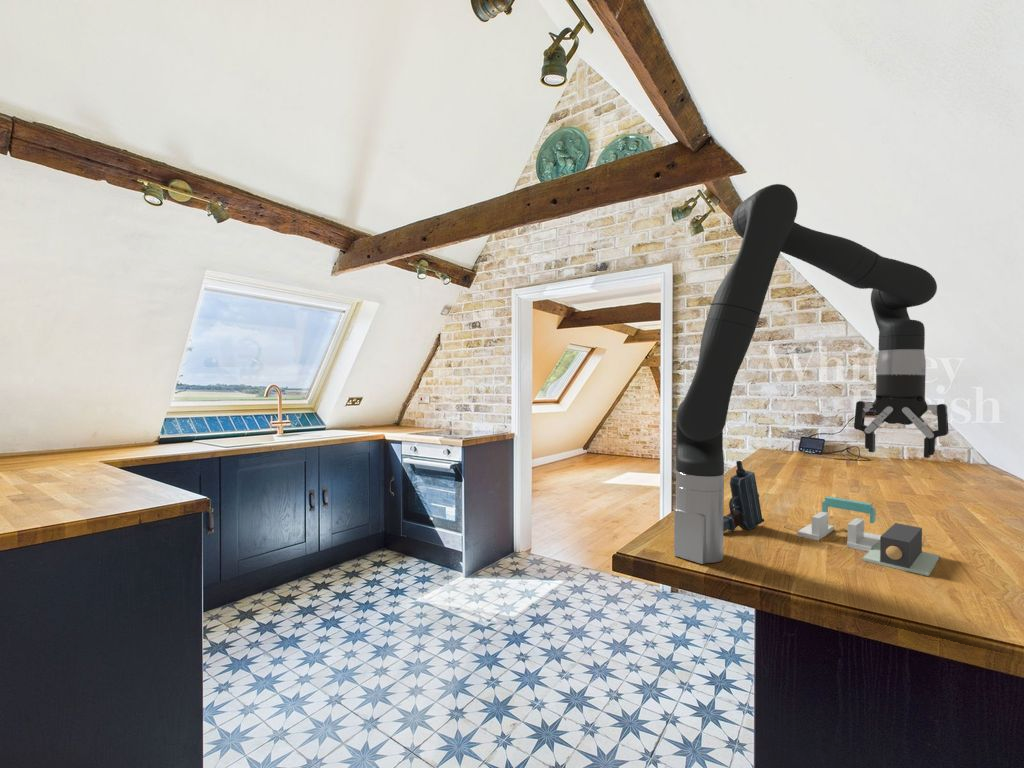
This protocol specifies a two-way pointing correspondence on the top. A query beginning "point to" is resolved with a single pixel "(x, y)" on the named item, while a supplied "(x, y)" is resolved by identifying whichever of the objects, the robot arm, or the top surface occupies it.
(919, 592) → the top surface
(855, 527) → the clamp
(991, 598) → the top surface
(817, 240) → the robot arm
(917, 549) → the grey block with knob
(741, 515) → the gun
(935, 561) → the mat
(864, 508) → the teal drawer handle
